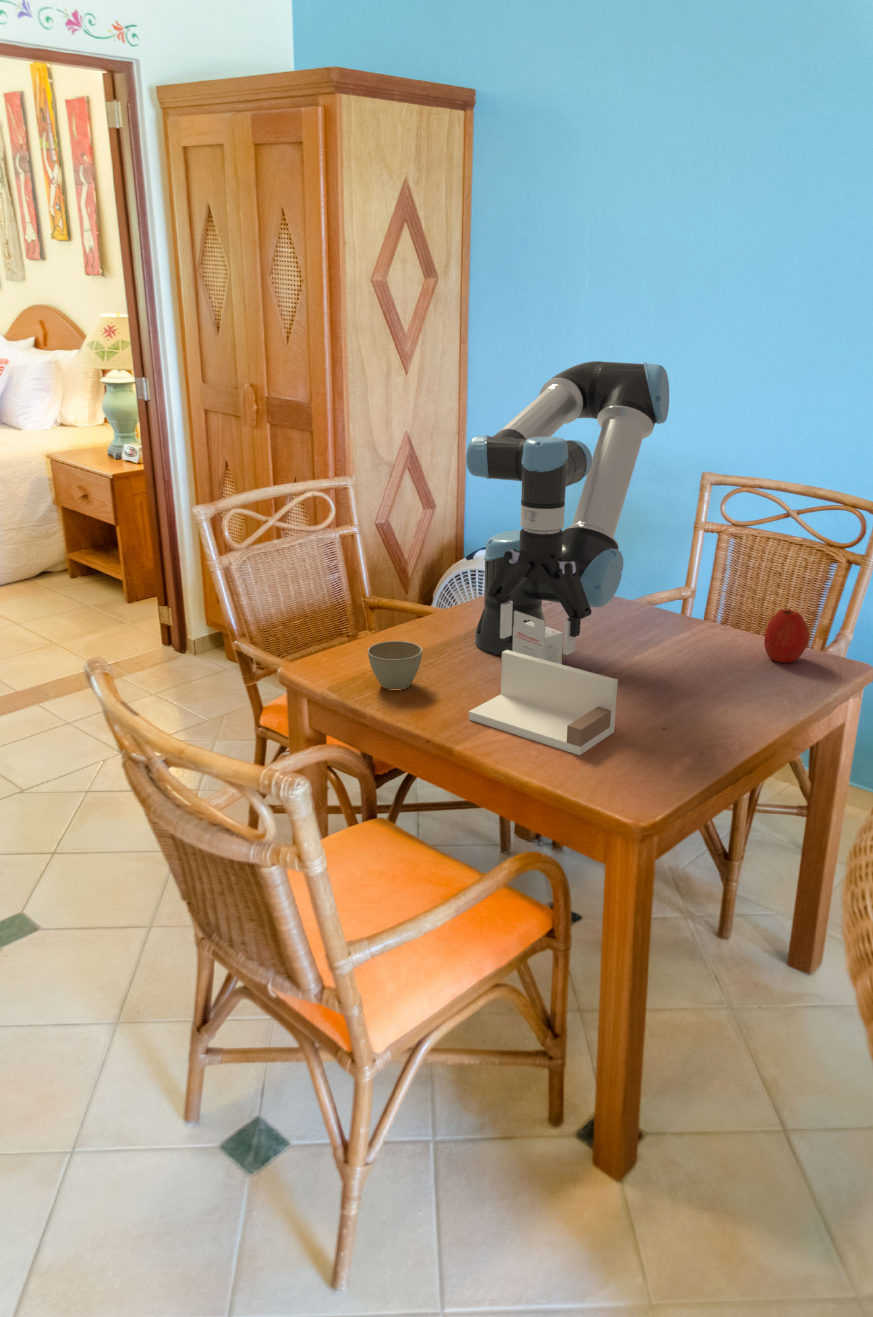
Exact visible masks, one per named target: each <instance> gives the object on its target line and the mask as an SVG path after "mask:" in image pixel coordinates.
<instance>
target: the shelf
mask: <svg viewBox="0 0 873 1317" xmlns="http://www.w3.org/2000/svg"><path fill="white" fill-rule="evenodd" d="M500 677H501V678H500V679H501V680H500V694H498V695H497V696H495V697H493V698H491V699H489V700H487V701H485V702H484V703H482V704H480V705H478V706H476V707H475V708H471V710H469V711H468V720H470V721H472V722H476V723H478V724H482V725H485V726H489V727H491V728H494V729H497V730H500V731H504V732H507V733H510V734H513V735H516V736H519V737H521V738H523V739H524V738H525V739H528V740H531V741H534V742H537V743H541V744H543V745H547V746H549V747H552V748H556V749H559V750H561V751H565V752H569V753H571V754H573V755H576V756H581V755H583V754H584V753H585V752H587V751H589V750H590V749H592V748H593V747H595V746H596V745H597V744H599V743H600V742H601V741H603V740H604V739H606V738H608V737H609V736H610V735H612V734H613V733H614V732H615V723H616V709H617V708H616V707H617V696H618V695H617V692H618V681H619V679H617V678H614V677H610V676H607V675H603V674H598V673H595V672H592V671H591V672H590V671H587V670H584V669H580V668H576V667H574V666H573V667H572V666H570V665H564V664H558V663H554V662H551V661H547V660H543V659H539V658H536V657H532V656H528V655H525V654H521V653H517V652H513V651H510V650H505V651H503V652H502V655H501V675H500Z"/></svg>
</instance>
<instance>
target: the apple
mask: <svg viewBox="0 0 873 1317" xmlns="http://www.w3.org/2000/svg"><path fill="white" fill-rule="evenodd" d="M809 632H810V631H809V627H808V626H807V623H806V621H805V619H804V617H803V616H802V614H800V613H799V611H796V610H792V609H791V608H790V607H789V608H788V609H786V608H785V609H780V610H779V611H777V612H776V613H775V615H773V617H772V618H771V619H770V620H769V622H768V623H767V627H766V629H765V632H764V640H763V641H764V643H763V644H764V649H765V652H766V655H767V656H768V657H769V659H770V660H772V661H774V662H777V663H782V664H791V663H792V662H795V661H797V660H798V659H799V658H800V657H801V656H802V655H803V653H804V651H805V650H806V649H807V647H808V643H809V641H810V633H809Z"/></svg>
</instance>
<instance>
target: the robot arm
mask: <svg viewBox="0 0 873 1317" xmlns="http://www.w3.org/2000/svg"><path fill="white" fill-rule="evenodd" d="M669 384H670V381H669V377H668V373H667V370H666V369H665V367H664V366H662V365H660V364H655V363H647V362H643V363H631V362H618V361H617V362H614V361H613V362H612V361H601V360H600V361H599V360H595V361H594V360H593V361H588V362H586V361H585V362H583V363H580V364H576V365H573V366H571V367H569V368H567V369H565V370H563V371H561V372H560V373H559V372H558V373H557V374H555V375H554V376H553V377H551V378H550V379H549V380H548V381H547V382H546V383H544V384H543V385H542V387H541V388H540V391H539V395H538V396H536V398H535V399H533V400H532V402H531V403H529V404H528V405H527V406H526V407H524V409H522V410H521V411H520V412H519V413H518V414H516V415H515V416H514V418H513V419H511V420H510V421H509V422H508V423H507V424H506V425H505V426H503V427H502V428H501V429H500V430H499V431H498V432H497V433H496V434H495V435H493V436H489V435H477V436H474V437H472V439H470V440H469V443H468V445H467V448H466V454H465V456H466V457H465V461H466V467H467V470H468V472H469V473H470V474H471V475H472V476H473V477H478V478H479V477H480V478H486V479H487V480H491V479H492V480H503V481H512V482H513V481H515V482H521V499H520V519H519V520H520V524H519V525H520V528H521V527H522V529H518V530H517V529H516V530H515V529H514V530H509V531H503V532H500V533H497V534H494V535H492V536H491V537H489V538H488V540H487V541H486V544H485V553H484V554H485V555H484V557H483V559H484V605H483V610H482V613H481V615H480V618H479V621H478V623H477V627H476V629H475V633H474V637H475V638H474V643H475V645H476V647H477V648H478V649H481V650H482V651H483V652H484V651H485V652H487V653H491V654H495V655H499V656H500V655H501V656H502V652H503V651H505V650H510V651H512V648H513V626H514V611H515V610H516V611H518V612H521V613H524V614H527V615H530V616H533V617H536V618H538V619H541V620H545V621H546V618H545V615H544V612H543V607H542V606H543V601H545V602H552V603H559V604H560V605H561V607H562V608H563V609H564V611H565V613H566V615H567V616H568V617H566V618H565V619H564V632H563V647H562V655H565V656H568V655H570V654H573V653H574V652H575V651H576V639H577V638H576V637H578V636H580V634H581V624H582V623H581V621H582V619H584V618H587V617H589V616H591V615H592V609H591V608H603V607H605V606H606V605H607V604H609V602H611V601H612V599H613V598H614V597H615V595H616V592H617V590H618V588H619V586H620V583H621V580H622V572H623V570H624V556H623V554H622V551H620V550H619V548H620V547H619V546H620V545H619V543H618V542H617V540H616V539H615V534H616V531H617V528H618V523H619V521H620V517H621V514H622V510H623V507H624V505H625V500H626V497H627V493H628V490H629V487H630V483H631V479H632V476H633V473H634V470H635V466H636V462H637V459H638V456H639V452H640V449H641V446H642V441H643V440H644V439H646V438H648V437H649V436H651V435H652V433H653V430H654V427H655V424H657V425H661V424H665V422H666V421H667V418H668V416H669V407H670V385H669ZM577 419H595V420H596V421H597V423H598V424H597V425H599V427H600V428H601V429H600V432H599V435H598V439H597V442H596V444H595V448H594V452H593V456H592V452H591V450H590V449H589V447H588V446H587V445H586V444H585V443H584V442H582V441H580V440H575V439H564V438H562V437H556V436H553V435H554V434H555V433H556V432H558V430H559V429H560V428H561V427H563V425H565V424H567V425H568V424H570V423H572V422H574V421H576V420H577ZM585 477H586V478H585ZM584 478H585V481H584V484H583V487H582V491H581V495H580V496H579V497H580V498H579V500H578V504H577V507H576V511H575V514H574V517H573V520H572V524H571V525H570V526H568V527H565V528H564V526H565V511H566V510H565V508H566V507H565V506H566V501H565V500H566V489H567V487H569V486H571V485H574V484H578V483H579V482H580V481H582V480H583V479H584ZM562 529H563V530H562ZM527 622H530V620H528V621H527V620H524V623H527ZM546 627H548V626H547V625H546Z"/></svg>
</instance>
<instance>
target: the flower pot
mask: <svg viewBox="0 0 873 1317" xmlns="http://www.w3.org/2000/svg"><path fill="white" fill-rule="evenodd" d="M367 655H368V659H369V660H368V661H369V663H370V667H371V669H372V671H373V674H374V676H375V678H376V680H377V681H378V683H379V684H380V685H382V686H383V687H385V688H387V689H404V688H407V687H408V688H409V687H410V686H411V685H412V683H413V681H414V679H415V677H416V676H417V673H418V672H419V669H420V665H421V662H422V656H423V647H422V646H420V645H418V644H417V643H414V642H410V641H405V640H404V641H403V640H402V641H401V640H391V641H390V640H389V641H382V642H378V643H374V644H372V645H371V646H369V647H368V649H367ZM382 686H381V687H382ZM383 687H382V688H383ZM408 688H407V689H408ZM404 690H405V689H404Z"/></svg>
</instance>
